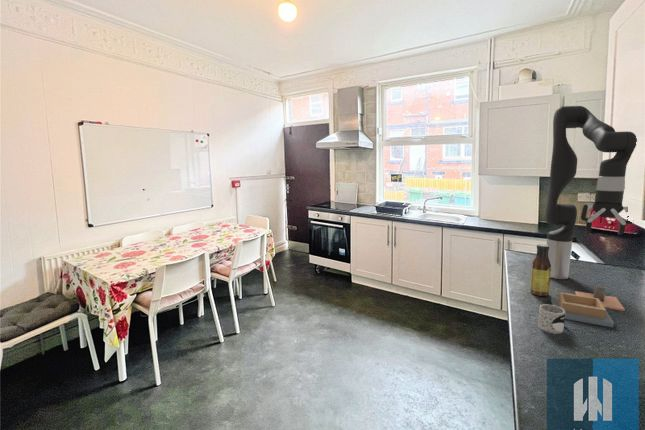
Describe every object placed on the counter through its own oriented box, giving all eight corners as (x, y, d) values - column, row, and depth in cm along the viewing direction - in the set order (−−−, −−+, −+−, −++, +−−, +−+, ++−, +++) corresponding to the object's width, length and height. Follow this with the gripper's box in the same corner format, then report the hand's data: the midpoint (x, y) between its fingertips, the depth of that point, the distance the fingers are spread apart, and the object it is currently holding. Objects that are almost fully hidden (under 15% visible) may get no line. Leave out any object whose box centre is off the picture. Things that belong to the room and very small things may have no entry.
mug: (555, 336, 99) (558, 315, 98) (533, 326, 105) (535, 307, 104) (573, 328, 104) (575, 308, 102) (550, 319, 109) (552, 300, 108)
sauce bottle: (551, 297, 126) (557, 248, 123) (533, 296, 127) (538, 247, 124) (543, 291, 133) (548, 243, 129) (527, 289, 134) (531, 243, 130)
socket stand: (551, 300, 124) (552, 289, 123) (601, 308, 116) (603, 297, 115) (555, 316, 111) (557, 304, 110) (613, 327, 103) (615, 314, 103)
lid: (574, 294, 130) (576, 279, 129) (615, 300, 124) (618, 284, 123) (579, 305, 121) (581, 289, 120) (624, 312, 114) (626, 296, 113)
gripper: (634, 189, 115) (627, 233, 118) (583, 187, 123) (578, 229, 125) (639, 190, 109) (632, 237, 112) (585, 189, 117) (580, 233, 119)
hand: (603, 233), depth 119 cm, fingers open, 8 cm apart
